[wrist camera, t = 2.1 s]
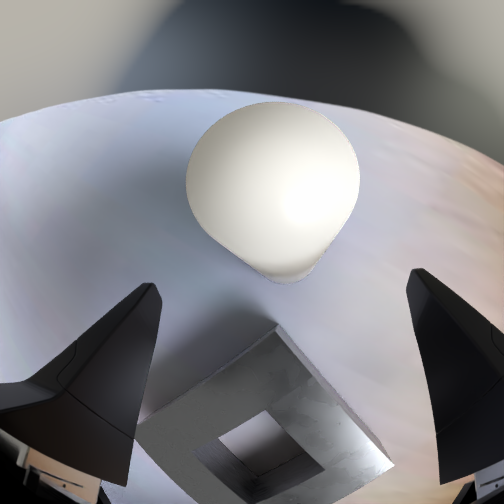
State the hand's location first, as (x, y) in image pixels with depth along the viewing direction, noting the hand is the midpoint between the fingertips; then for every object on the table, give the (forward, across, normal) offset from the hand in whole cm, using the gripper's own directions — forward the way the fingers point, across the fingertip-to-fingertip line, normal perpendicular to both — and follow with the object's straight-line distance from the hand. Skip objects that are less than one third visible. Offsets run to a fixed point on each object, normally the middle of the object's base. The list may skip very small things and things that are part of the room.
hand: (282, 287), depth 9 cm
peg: (+9, 0, +5) cm, 11 cm away
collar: (-1, +2, +15) cm, 15 cm away
